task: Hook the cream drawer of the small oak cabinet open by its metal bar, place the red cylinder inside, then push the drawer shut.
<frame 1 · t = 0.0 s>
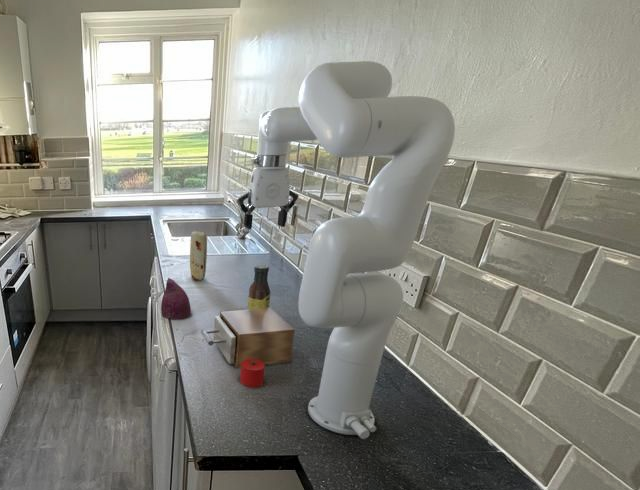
hand: (264, 227, 113), 31 cm above the countertop, tool pointing down, fingers open, 9 cm apart
sauce bottle: (256, 328, 125), on the countertop
drawer: (237, 337, 109), point 5 cm above the countertop, slide at 0.5 cm
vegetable: (175, 314, 138), on the countertop
cabinet: (252, 351, 112), on the countertop
food model: (197, 278, 170), on the countertop
red cylinder: (251, 381, 99), on the countertop
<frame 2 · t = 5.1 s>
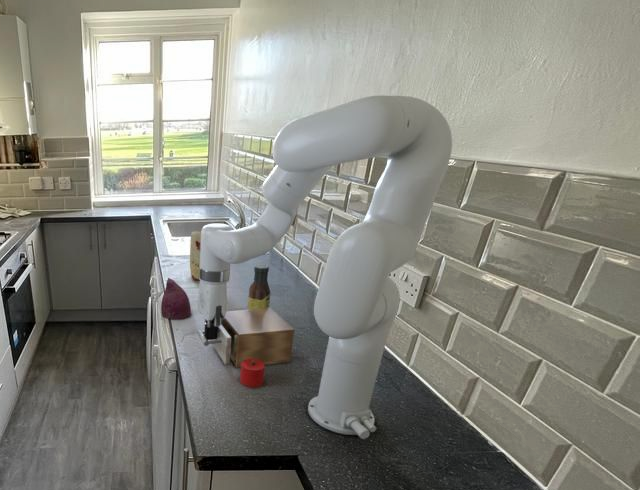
hand: (210, 338, 109), 5 cm above the countertop, tool pointing down, fingers closed
drawer: (233, 338, 109), point 5 cm above the countertop, slide at 1.7 cm, touching gripper
everything else where it was.
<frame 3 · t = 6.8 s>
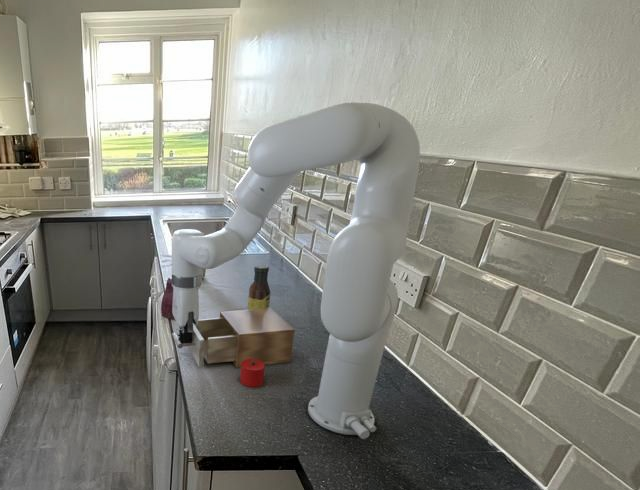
hand: (185, 343, 108), 4 cm above the countertop, tool pointing down, fingers closed
drawer: (207, 340, 109), point 5 cm above the countertop, slide at 8.7 cm
everything else where it was.
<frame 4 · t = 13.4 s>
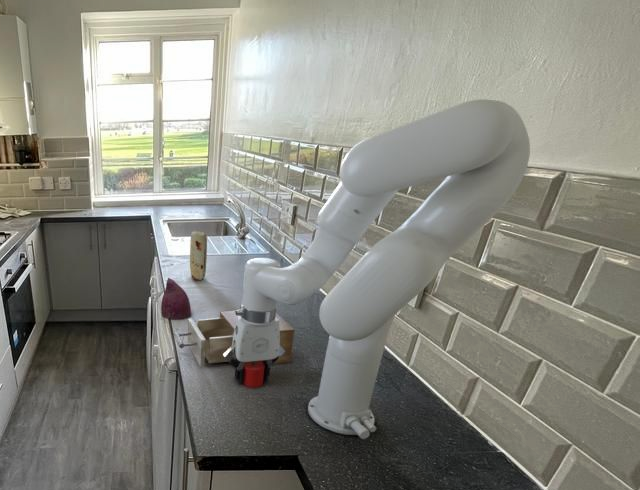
hand: (251, 379, 98), 0 cm above the countertop, tool pointing down, fingers closed on red cylinder, 5 cm apart
drawer: (209, 340, 109), point 5 cm above the countertop, slide at 8.3 cm
red cylinder: (251, 381, 99), on the countertop, touching gripper
everything else where it was.
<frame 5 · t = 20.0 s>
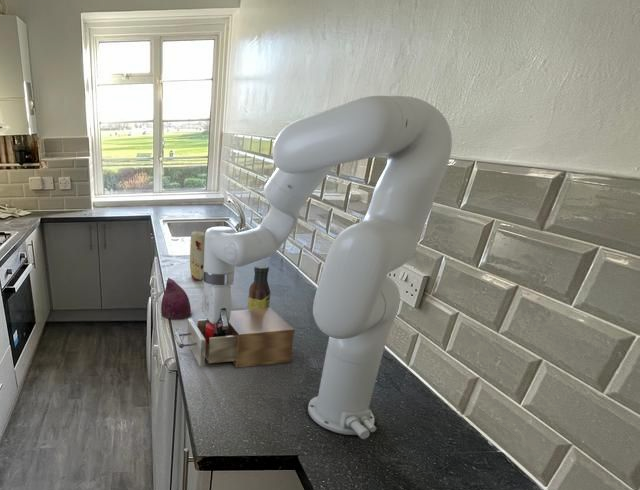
hand: (215, 339, 109), 5 cm above the countertop, tool pointing down, fingers closed on red cylinder, 5 cm apart
red cylinder: (215, 341, 109), point 4 cm above the countertop, touching gripper
everything else where it was.
when the fingers open (7 cm above the countertop, at t = 25.5 s): red cylinder stays where it is, resting on drawer.
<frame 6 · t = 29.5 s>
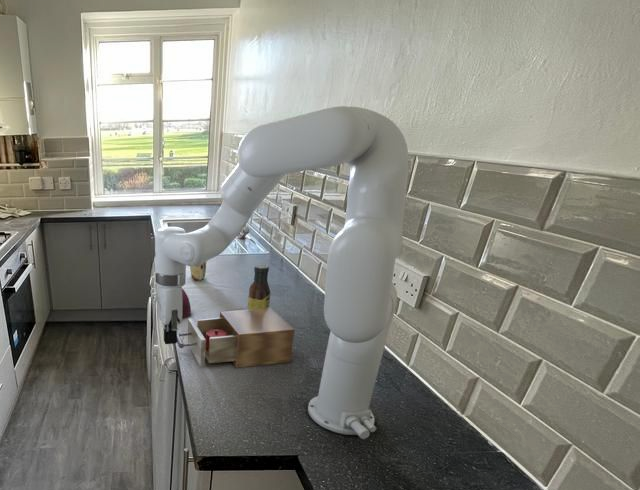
hand: (170, 342, 108), 5 cm above the countertop, tool pointing down, fingers closed
drawer: (209, 340, 109), point 5 cm above the countertop, slide at 8.3 cm, touching gripper, red cylinder
red cylinder: (215, 348, 110), point 2 cm above the countertop, touching drawer
everything else where it was.
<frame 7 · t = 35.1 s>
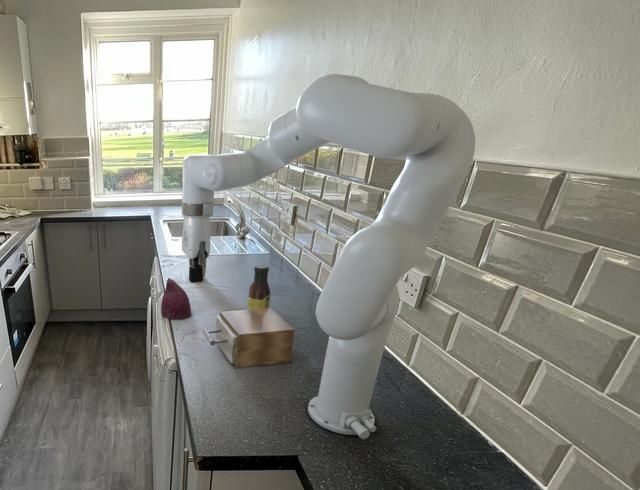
hand: (195, 281, 104), 21 cm above the countertop, tool pointing down, fingers closed
drawer: (239, 337, 109), point 5 cm above the countertop, slide at 0.0 cm, touching red cylinder
red cylinder: (244, 345, 111), point 2 cm above the countertop, touching drawer
everything else where it was.
at the end: drawer pulled out 8.7 cm at the most during the clip, back to where it started at the end; red cylinder inside the target area in the cabinet (2.4 cm from its centre), point 2.0 cm above the cabinet's base; drawer slide at 0.0 cm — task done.
